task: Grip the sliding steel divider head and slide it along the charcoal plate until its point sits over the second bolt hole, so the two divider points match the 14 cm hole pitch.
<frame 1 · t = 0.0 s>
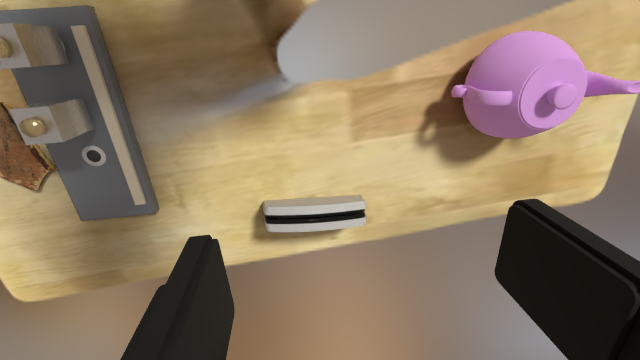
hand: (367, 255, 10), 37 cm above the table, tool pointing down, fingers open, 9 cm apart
grey layered slab: (312, 202, 51), on the table
shard: (16, 148, 43), on the table
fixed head: (59, 46, 38), resting on hole plate
teapot: (501, 83, 46), on the table
hole plate: (89, 125, 42), on the table
divider head: (54, 120, 36), point 6 cm above the table, slide at 0.0 cm
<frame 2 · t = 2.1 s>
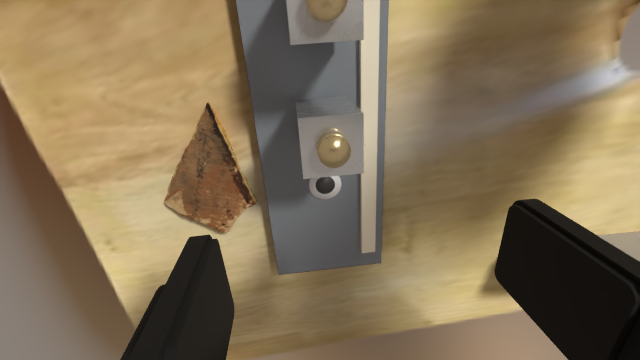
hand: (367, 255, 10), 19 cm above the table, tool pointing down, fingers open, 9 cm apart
grey layered slab: (573, 243, 36), on the table
shard: (202, 172, 29), on the table
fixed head: (313, 13, 23), resting on hole plate
hole plate: (320, 138, 28), on the table
divider head: (327, 134, 21), point 6 cm above the table, slide at 0.0 cm
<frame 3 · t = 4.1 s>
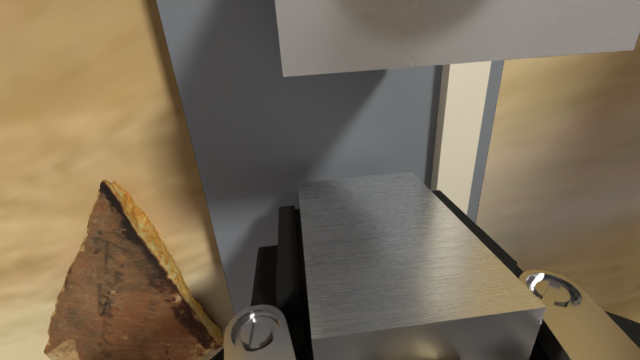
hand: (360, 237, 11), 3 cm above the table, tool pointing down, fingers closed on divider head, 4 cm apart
shard: (121, 290, 15), on the table
hole plate: (345, 231, 14), on the table
divider head: (380, 289, 8), point 6 cm above the table, slide at 0.0 cm, touching gripper
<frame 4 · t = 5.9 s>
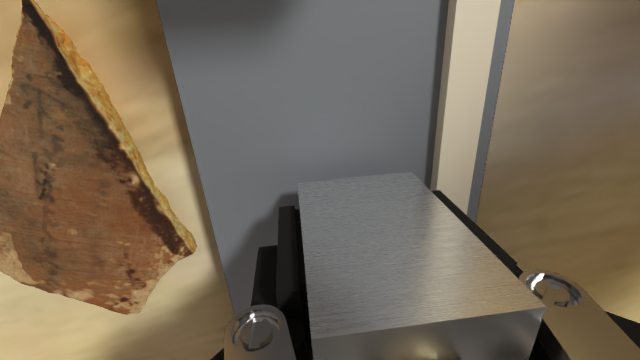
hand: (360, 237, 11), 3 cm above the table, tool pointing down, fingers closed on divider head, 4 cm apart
shard: (73, 186, 13), on the table
hole plate: (340, 106, 12), on the table
divider head: (380, 289, 8), point 6 cm above the table, slide at 5.9 cm, touching gripper
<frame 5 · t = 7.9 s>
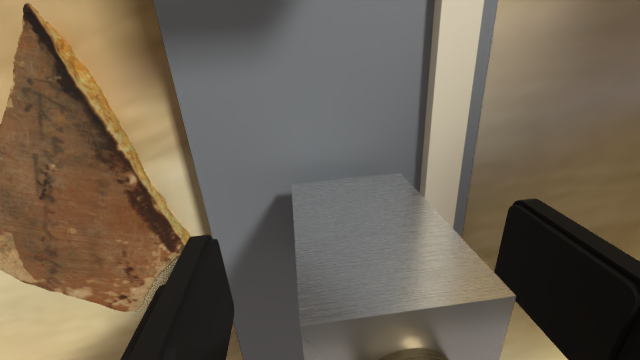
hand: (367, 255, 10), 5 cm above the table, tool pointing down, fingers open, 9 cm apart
shard: (72, 186, 13), on the table
hole plate: (333, 109, 12), on the table
divider head: (369, 284, 9), point 6 cm above the table, slide at 6.0 cm
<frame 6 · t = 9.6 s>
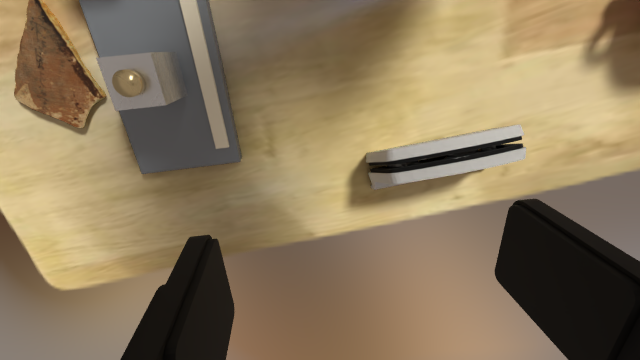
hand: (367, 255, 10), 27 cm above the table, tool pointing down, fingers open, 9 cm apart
grey layered slab: (428, 148, 39), on the table
shard: (52, 70, 31), on the table
hole plate: (158, 32, 30), on the table
divider head: (147, 79, 26), point 6 cm above the table, slide at 6.0 cm
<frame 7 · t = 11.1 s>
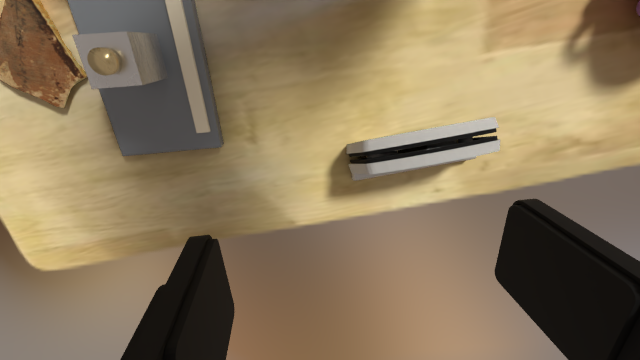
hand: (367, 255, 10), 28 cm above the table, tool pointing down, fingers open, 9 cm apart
grey layered slab: (408, 140, 39), on the table
shard: (33, 49, 31), on the table
hole plate: (140, 14, 30), on the table
divider head: (125, 59, 27), point 6 cm above the table, slide at 6.0 cm
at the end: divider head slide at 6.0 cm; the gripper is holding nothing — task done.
